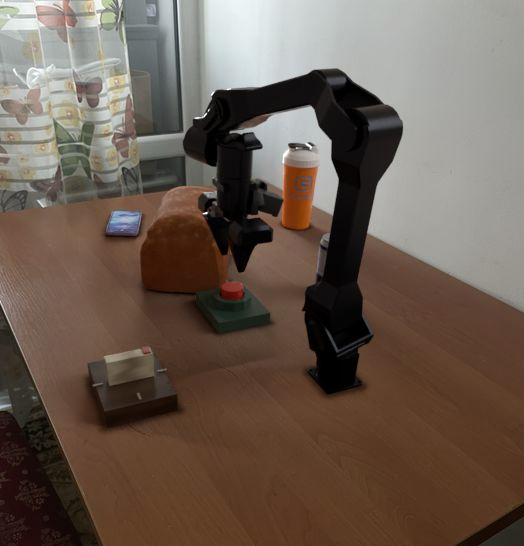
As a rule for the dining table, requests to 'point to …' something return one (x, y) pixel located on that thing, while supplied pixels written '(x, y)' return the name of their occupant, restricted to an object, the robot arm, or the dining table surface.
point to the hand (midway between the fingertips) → (232, 263)
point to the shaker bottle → (299, 184)
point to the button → (232, 290)
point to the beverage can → (322, 257)
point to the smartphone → (124, 223)
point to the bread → (182, 247)
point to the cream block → (129, 366)
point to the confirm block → (232, 310)
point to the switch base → (132, 395)
